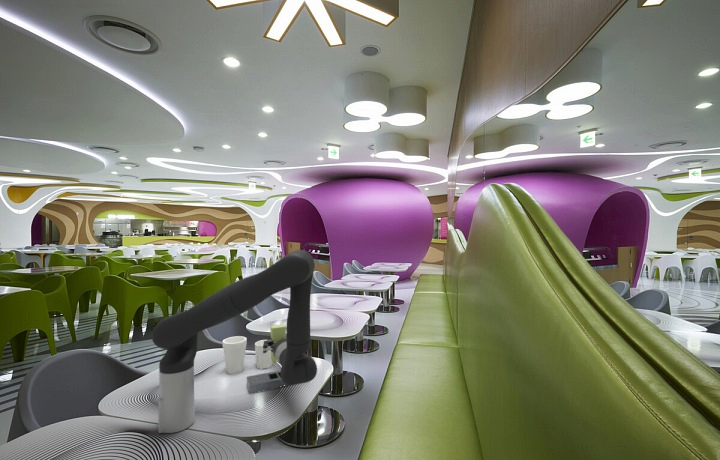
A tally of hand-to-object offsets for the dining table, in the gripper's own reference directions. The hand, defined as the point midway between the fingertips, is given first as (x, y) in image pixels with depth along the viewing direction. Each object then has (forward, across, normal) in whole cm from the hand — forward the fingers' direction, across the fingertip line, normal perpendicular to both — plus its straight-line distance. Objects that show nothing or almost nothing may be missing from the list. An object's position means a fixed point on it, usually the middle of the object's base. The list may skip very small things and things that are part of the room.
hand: (276, 338), depth 130 cm
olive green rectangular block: (-3, 0, +8) cm, 8 cm away
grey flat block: (-2, 0, +16) cm, 16 cm away
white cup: (+17, +2, +16) cm, 23 cm away
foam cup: (+17, +14, +16) cm, 27 cm away
